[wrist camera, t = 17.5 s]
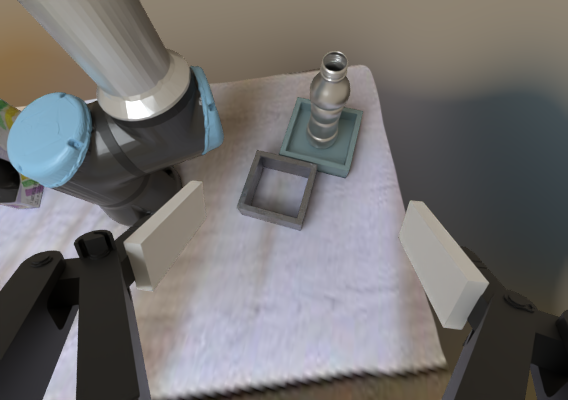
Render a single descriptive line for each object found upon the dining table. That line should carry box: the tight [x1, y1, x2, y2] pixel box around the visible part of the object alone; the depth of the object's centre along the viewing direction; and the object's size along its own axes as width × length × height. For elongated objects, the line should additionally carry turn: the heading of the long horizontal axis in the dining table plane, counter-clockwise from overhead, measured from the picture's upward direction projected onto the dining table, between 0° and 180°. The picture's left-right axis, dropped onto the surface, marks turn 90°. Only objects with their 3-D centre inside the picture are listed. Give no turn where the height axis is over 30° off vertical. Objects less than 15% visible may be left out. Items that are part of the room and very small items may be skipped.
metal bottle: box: [306, 51, 350, 149], centre depth 44 cm, size 6×7×20 cm
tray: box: [279, 97, 363, 178], centre depth 53 cm, size 14×14×4 cm
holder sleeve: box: [237, 150, 318, 231], centre depth 49 cm, size 12×12×5 cm
